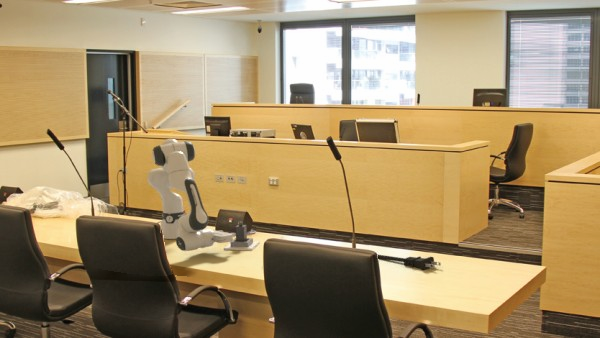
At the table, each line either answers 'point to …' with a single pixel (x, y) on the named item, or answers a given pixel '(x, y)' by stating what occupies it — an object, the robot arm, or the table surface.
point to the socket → (242, 245)
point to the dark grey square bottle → (241, 233)
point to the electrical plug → (413, 261)
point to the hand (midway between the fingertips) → (228, 233)
